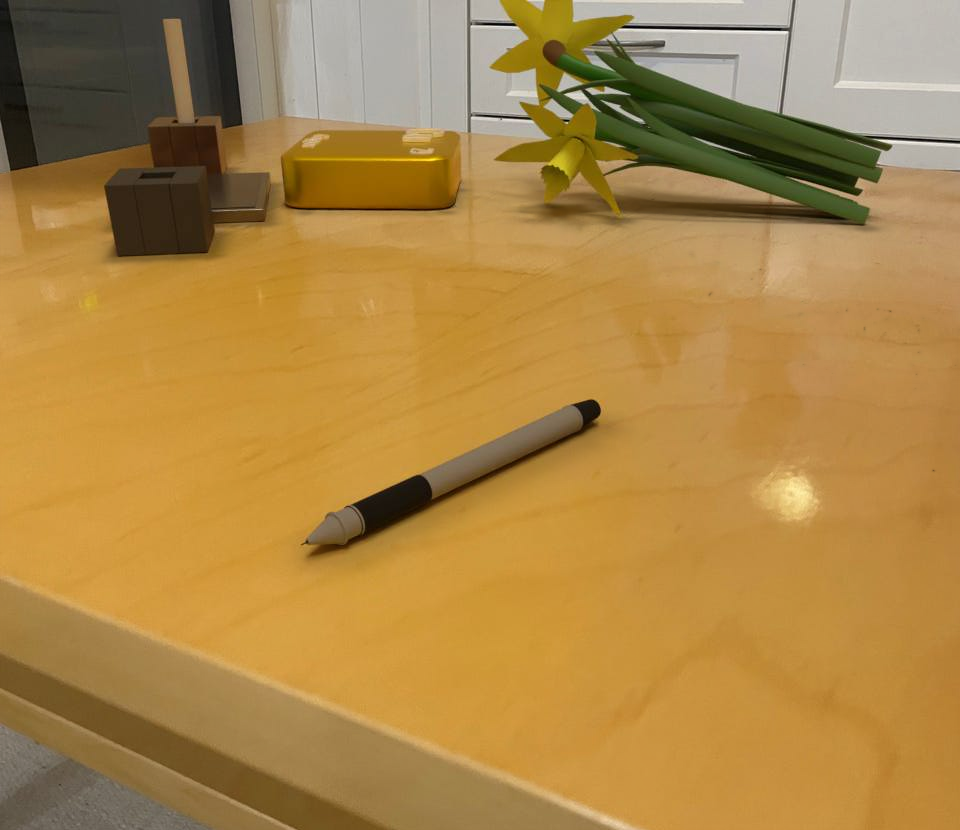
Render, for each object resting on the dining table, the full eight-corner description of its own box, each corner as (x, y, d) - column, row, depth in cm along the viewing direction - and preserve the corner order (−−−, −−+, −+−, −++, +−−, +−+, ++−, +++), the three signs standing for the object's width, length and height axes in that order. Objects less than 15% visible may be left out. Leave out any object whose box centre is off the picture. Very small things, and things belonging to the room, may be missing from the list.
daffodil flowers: (877, 261, 70) (431, 116, 70) (808, 306, 85) (440, 186, 85) (945, 49, 70) (502, -94, 71) (865, 130, 85) (498, 12, 85)
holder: (117, 256, 68) (103, 185, 66) (131, 234, 74) (119, 168, 71) (207, 252, 69) (197, 182, 67) (214, 231, 75) (205, 165, 72)
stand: (155, 180, 92) (146, 126, 90) (164, 168, 98) (156, 117, 95) (222, 178, 93) (215, 124, 91) (227, 166, 99) (220, 115, 96)
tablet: (113, 227, 76) (111, 213, 75) (143, 186, 90) (141, 175, 89) (264, 221, 78) (263, 207, 77) (270, 182, 91) (269, 171, 91)
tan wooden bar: (185, 175, 95) (161, 19, 88) (186, 172, 96) (163, 18, 89) (201, 174, 95) (179, 19, 88) (202, 171, 96) (181, 18, 89)
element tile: (313, 175, 94) (308, 124, 92) (462, 176, 94) (461, 125, 92) (280, 209, 81) (274, 151, 79) (453, 210, 81) (452, 152, 78)
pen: (604, 425, 43) (605, 399, 43) (313, 568, 33) (310, 536, 32) (581, 417, 44) (583, 391, 43) (291, 553, 34) (287, 522, 33)
